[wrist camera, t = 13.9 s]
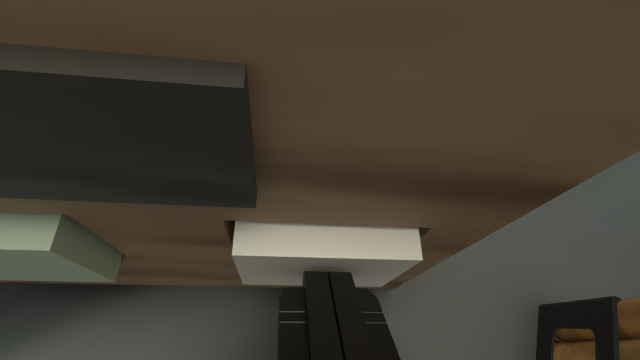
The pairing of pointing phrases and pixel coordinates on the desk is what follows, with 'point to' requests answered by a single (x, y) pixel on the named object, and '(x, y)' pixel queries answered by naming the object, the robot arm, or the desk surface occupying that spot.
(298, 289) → the robot arm
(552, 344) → the ammunition clip
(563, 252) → the desk surface
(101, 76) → the keypad console
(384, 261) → the cream key
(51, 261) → the sage key
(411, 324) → the desk surface
